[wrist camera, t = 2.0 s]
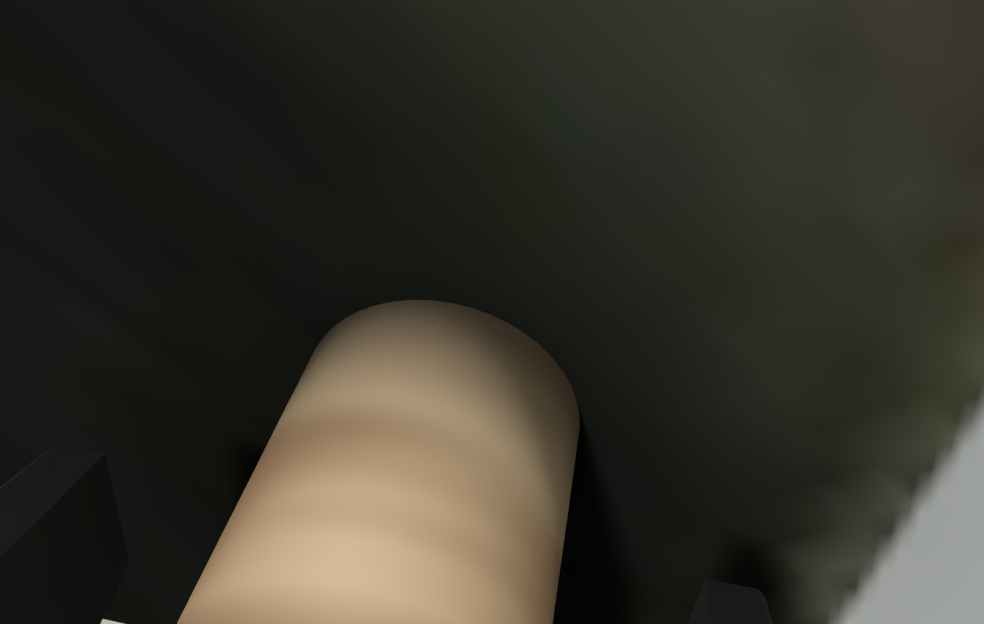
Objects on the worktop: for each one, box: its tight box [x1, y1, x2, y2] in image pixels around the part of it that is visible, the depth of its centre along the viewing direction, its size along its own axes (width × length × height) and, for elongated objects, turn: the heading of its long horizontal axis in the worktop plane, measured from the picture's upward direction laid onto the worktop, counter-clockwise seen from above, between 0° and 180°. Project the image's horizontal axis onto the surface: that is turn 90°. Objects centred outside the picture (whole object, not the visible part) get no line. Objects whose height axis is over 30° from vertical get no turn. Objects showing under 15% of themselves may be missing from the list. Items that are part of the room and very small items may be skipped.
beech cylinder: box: [177, 300, 580, 624], centre depth 12 cm, size 4×4×4 cm
